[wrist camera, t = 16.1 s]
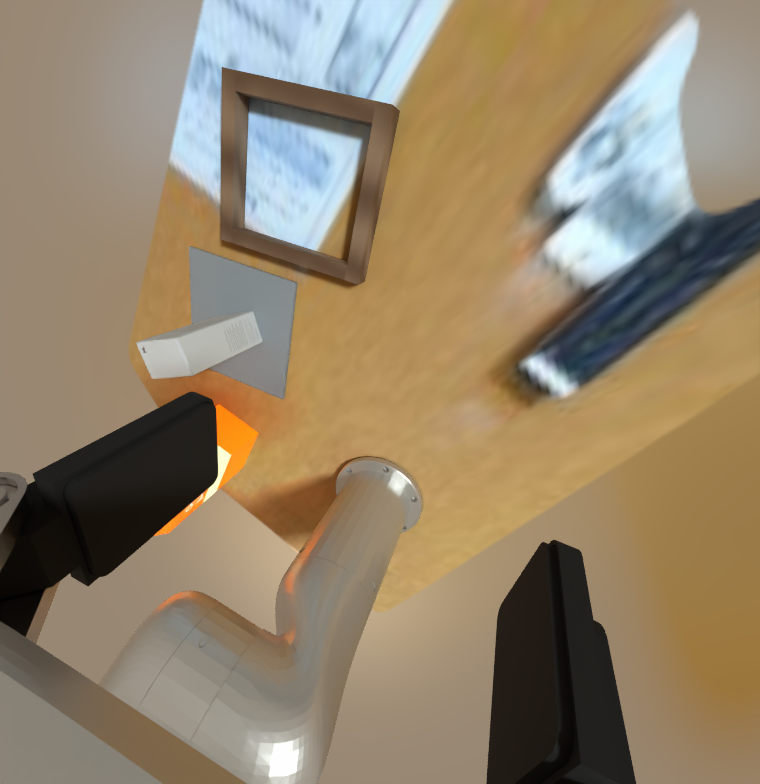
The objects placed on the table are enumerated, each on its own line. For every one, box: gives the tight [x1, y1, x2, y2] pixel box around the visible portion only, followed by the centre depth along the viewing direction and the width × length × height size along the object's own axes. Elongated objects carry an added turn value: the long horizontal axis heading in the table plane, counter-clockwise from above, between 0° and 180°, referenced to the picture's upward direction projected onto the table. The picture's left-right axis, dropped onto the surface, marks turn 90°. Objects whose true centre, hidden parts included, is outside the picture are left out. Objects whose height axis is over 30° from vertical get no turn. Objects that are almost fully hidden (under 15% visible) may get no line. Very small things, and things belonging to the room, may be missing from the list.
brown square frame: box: [221, 67, 400, 284], centre depth 36 cm, size 15×17×2 cm
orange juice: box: [154, 405, 258, 536], centre depth 48 cm, size 8×9×20 cm
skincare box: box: [136, 311, 262, 379], centre depth 41 cm, size 6×4×12 cm
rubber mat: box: [189, 247, 297, 399], centre depth 47 cm, size 16×15×1 cm
